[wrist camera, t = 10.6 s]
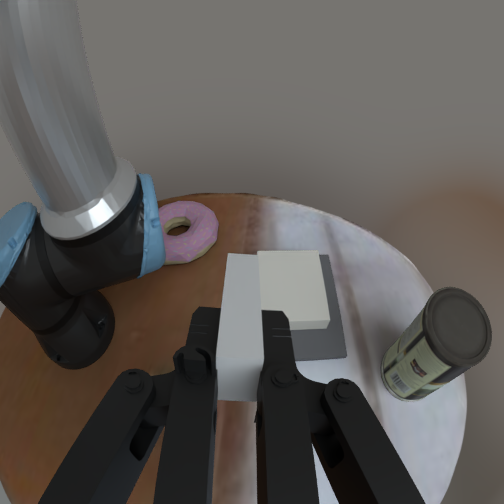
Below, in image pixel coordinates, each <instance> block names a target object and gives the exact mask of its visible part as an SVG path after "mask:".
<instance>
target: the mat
mask: <svg viewBox="0 0 504 504" xmlns="http://www.w3.org/2000/svg"><path fill="white" fill-rule="evenodd" d="M319 258H320V263H321V268H322V274H323V279H324V285H325V291H326V297H327V303H328V309H329V315H330V322H329V324H328V326H327V328H326V329H305V330H290V331H291V338H292V343H293V350H294V356H295V361H310V360H325V359H338V358H346V356H347V352H346V346H345V339H344V333H343V327H342V321H341V316H340V310H339V305H338V299H337V294H336V289H335V284H334V279H333V274H332V270H331V265H330V260H329V256H328V255H319Z"/></svg>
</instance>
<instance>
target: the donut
mask: <svg viewBox="0 0 504 504" xmlns="http://www.w3.org/2000/svg"><path fill="white" fill-rule="evenodd" d="M158 210H159V217H160V223H161V227H162V233H163V238H164V244H165V252H166V259H165V262H164V264H163V265H168V264H182V263H188V262H190V261H193V260H195V259H197V258H199V257H201V256H203V255H204V254H205V253H206V252H207V251H208V250H209V249H210V248H211V247H212V245H213V244H214V243H215V241H216V240H217V233H218V225H219V223H218V221H217V218H216V216H215V214H214V212H213V211H211V210H210V209H209V208H207V207H206V206H204V205H203V204H201V203H197V202H194V201H177V202H174V203H170V204H167V205H164V206H162V207H161V208H159V209H158ZM180 225H184V226H190V228H189V229H188V231H187V232H185V233H183V234H180V235H178V236H171V235H167V233H168V231H169V230H171V229H173V228H175V227H178V226H180Z"/></svg>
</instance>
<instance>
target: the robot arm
mask: <svg viewBox="0 0 504 504" xmlns="http://www.w3.org/2000/svg"><path fill="white" fill-rule="evenodd" d="M0 124H1V126H2V128H3V131H4V133H5V135H6V137H7V139H8V141H9V143H10V145H11V147H12V149H13V151H14V153H15V155H16V157H17V159H18V161H19V162H20V164H21V166H22V168H23V170H24V171H25V173H26V175H27V176H28V178H29V180H30V182H31V183H32V185H33V187H34V188H35V190H36V192H37V193H38V195H39V197H40V198H41V200H42V201H43V203H42V206H41V211H40V213H38V212H37V208H36V207H35V206H33V205H32V203H29V202H23V203H20V204H19V205H16V206H15V207H13V208H12V209H11V210H9V211H8V212H7V213H6V214H5V215H4V216H3V217H2V218H1V219H0V301H1V302H2V303H3V304H4V305H5V306H6V307H7V308H8V309H9V310H10V311H11V312H12V313H13V314H14V315H15V316H16V317H17V318H18V319H19V320H21V321H22V322H23V323H24V324H25V325H26V326H27V327H28V328H29V329H31V330H32V331H33V332H34V334H35V336H36V338H37V340H38V341H39V343H40V345H41V347H42V348H43V350H44V352H45V353H46V355H47V356H48V357H49V358H50V359H51V360H53V361H54V362H55V363H57V364H58V365H59V366H61V367H63V368H66V369H81V368H84V367H87V366H89V365H91V364H92V363H94V362H95V361H96V360H97V359H99V358H100V357H101V356H102V354H103V353H104V352H105V350H106V349H107V347H108V346H109V344H110V342H111V339H112V336H113V333H114V327H115V319H114V313H113V310H112V308H111V306H110V304H109V303H108V301H107V300H106V299H105V297H104V296H103V295H102V294H101V293H100V292H99V291H97V290H99V289H102V288H105V287H109V286H112V285H115V284H118V283H122V282H125V281H128V280H132V279H135V278H137V279H138V278H141V277H142V276H143V275H145V274H148V273H150V272H153V271H155V270H158V269H159V268H161V267H162V266H163V264H164V262H165V259H166V252H165V244H164V238H163V233H162V227H161V223H160V217H159V210H158V205H157V200H156V195H155V190H154V184H153V180H152V178H151V176H150V175H149V174H141V173H139V174H138V175H137V174H136V171H135V170H134V167H133V166H132V164H131V163H130V162H129V161H128V160H126V159H124V158H121V157H117V156H114V153H113V150H112V147H111V144H110V141H109V138H108V135H107V132H106V128H105V125H104V122H103V119H102V115H101V112H100V108H99V105H98V101H97V97H96V94H95V90H94V86H93V82H92V78H91V74H90V70H89V66H88V61H87V57H86V52H85V47H84V42H83V37H82V32H81V26H80V20H79V13H78V6H77V0H0ZM173 361H174V366H175V370H174V371H172V372H170V373H167V374H163V375H155V376H150V375H149V374H148V373H147V372H145V371H143V370H140V369H129V370H126V371H124V372H122V373H121V374H120V375H119V376H118V377H117V379H116V380H115V382H114V383H113V384H112V386H111V387H110V389H109V390H108V392H107V393H106V395H105V396H104V398H103V399H102V401H101V402H100V404H99V405H98V407H97V408H96V410H95V411H94V413H93V414H92V416H91V417H90V419H89V421H88V422H87V424H86V425H85V427H84V428H83V430H82V431H81V433H80V434H79V436H78V438H77V439H76V441H75V442H74V444H73V446H72V447H71V449H70V450H69V452H68V454H67V455H66V457H65V458H64V460H63V462H62V463H61V465H60V467H59V468H58V470H57V472H56V473H55V475H54V477H53V478H52V480H51V482H50V483H49V485H48V487H47V488H46V490H45V492H44V494H43V495H42V497H41V499H40V501H39V502H38V504H126V502H127V500H128V498H129V496H130V494H131V492H132V490H133V488H134V486H135V484H136V482H137V480H138V478H139V476H140V474H141V472H142V470H143V468H144V466H145V464H146V462H147V460H148V458H149V456H150V454H151V452H152V450H153V448H154V446H155V444H156V442H157V440H158V438H159V436H160V434H161V432H162V430H163V428H164V426H165V431H164V437H163V443H162V449H161V455H160V461H159V467H158V474H157V480H156V487H155V495H154V502H153V504H212V486H213V468H214V451H215V435H216V420H217V400H230V401H254V402H256V400H257V411H256V416H255V421H254V423H256V452H257V504H319V496H318V487H317V479H316V471H315V463H314V455H313V448H312V444H313V446H314V448H315V451H316V453H317V455H318V457H319V460H320V462H321V464H322V467H323V469H324V471H325V473H326V476H327V478H328V480H329V482H330V485H331V487H332V489H333V491H334V494H335V496H336V498H337V500H338V502H339V504H425V502H424V500H423V498H422V496H421V494H420V493H419V491H418V489H417V487H416V485H415V484H414V482H413V480H412V478H411V476H410V475H409V473H408V471H407V469H406V467H405V466H404V464H403V462H402V460H401V459H400V457H399V455H398V453H397V452H396V450H395V448H394V446H393V445H392V443H391V441H390V439H389V438H388V436H387V434H386V432H385V431H384V429H383V427H382V426H381V424H380V422H379V420H378V419H377V417H376V415H375V414H374V412H373V410H372V409H371V407H370V405H369V403H368V402H367V400H366V398H365V397H364V395H363V393H362V392H361V390H360V388H359V387H358V386H357V385H356V384H355V383H354V382H352V381H350V380H348V379H343V378H340V379H334V380H332V381H330V382H329V383H328V384H323V383H319V382H315V381H312V380H309V379H307V378H305V377H304V376H303V375H302V374H301V373H300V372H299V371H298V369H297V367H296V363H295V356H294V350H293V343H292V338H291V331H290V325H289V319H288V318H287V316H286V315H285V314H284V312H283V311H277V310H261V295H260V278H259V261H258V255H247V254H232V253H228V258H227V266H226V274H225V282H224V290H223V298H222V307H221V308H211V307H198V309H197V310H196V311H195V312H194V313H193V315H192V319H191V323H190V328H189V333H188V337H187V341H186V346H184V347H181V348H180V349H179V350H178V351H176V353H175V354H174V356H173Z"/></svg>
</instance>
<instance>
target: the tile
mask: <svg viewBox="0 0 504 504" xmlns="http://www.w3.org/2000/svg"><path fill="white" fill-rule="evenodd" d="M257 255H258V261H259V278H260V295H261V310H277V311H283V312H284V314H285V315H286V316H287V318H288V319H289V325H290V330H305V329H326V328H327V326H328V324H329V322H330V315H329V309H328V303H327V297H326V291H325V285H324V279H323V274H322V268H321V263H320V258H319V253H318V250H304V251H257Z"/></svg>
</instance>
